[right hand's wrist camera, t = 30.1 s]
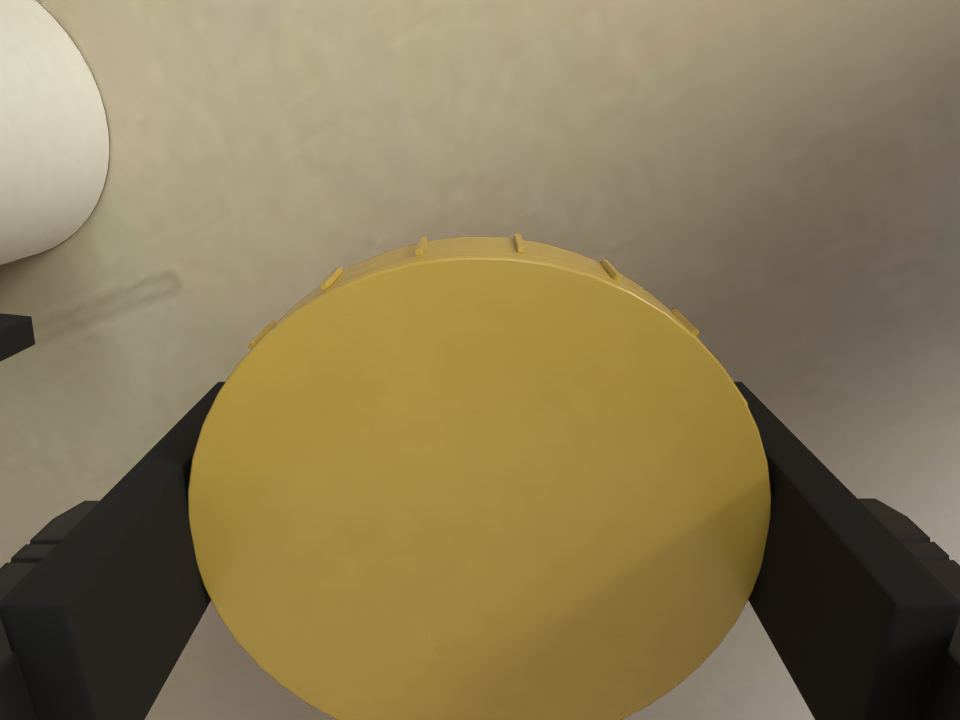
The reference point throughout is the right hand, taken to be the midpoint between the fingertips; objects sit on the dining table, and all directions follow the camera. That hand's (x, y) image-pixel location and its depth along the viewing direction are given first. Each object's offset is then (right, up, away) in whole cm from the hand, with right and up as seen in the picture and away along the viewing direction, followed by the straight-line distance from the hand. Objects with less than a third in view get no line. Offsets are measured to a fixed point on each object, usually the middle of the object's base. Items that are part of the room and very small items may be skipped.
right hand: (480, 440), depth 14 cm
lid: (0, -1, -3) cm, 3 cm away
